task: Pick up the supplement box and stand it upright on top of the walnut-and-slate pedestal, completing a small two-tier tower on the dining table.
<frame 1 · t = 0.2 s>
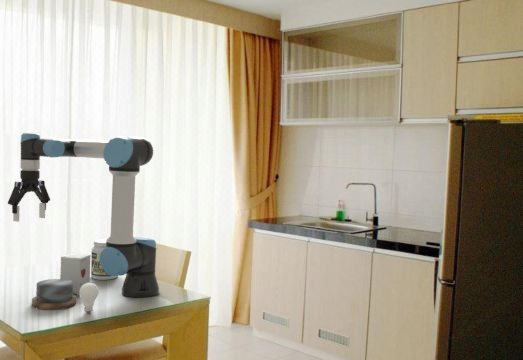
hand: (29, 219, 244), 28 cm above the table, tool pointing down, fingers open, 13 cm apart
supplement tub: (104, 277, 262), on the table
light bulb: (88, 313, 210), on the table
supplement box: (75, 291, 237), on the table
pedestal: (54, 303, 219), on the table
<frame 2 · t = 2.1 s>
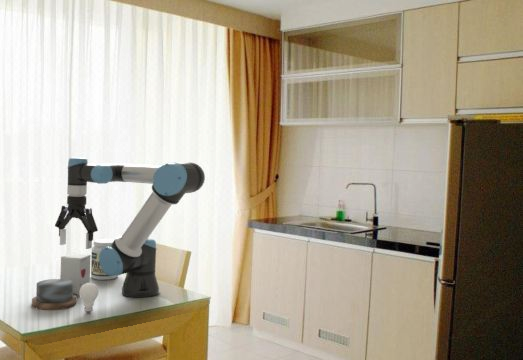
hand: (75, 246, 236), 19 cm above the table, tool pointing down, fingers open, 13 cm apart
nothing on the table moved.
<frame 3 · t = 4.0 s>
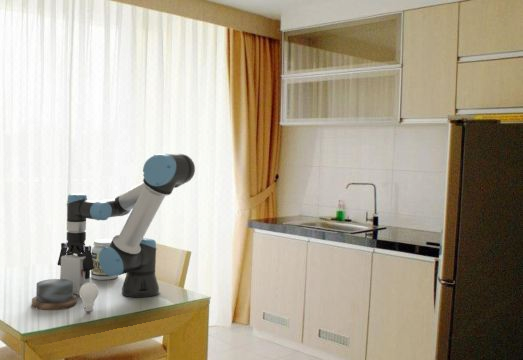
hand: (75, 284, 237), 3 cm above the table, tool pointing down, fingers closed on supplement box, 10 cm apart
supplement box: (75, 291, 237), on the table, touching gripper
everything else where it was.
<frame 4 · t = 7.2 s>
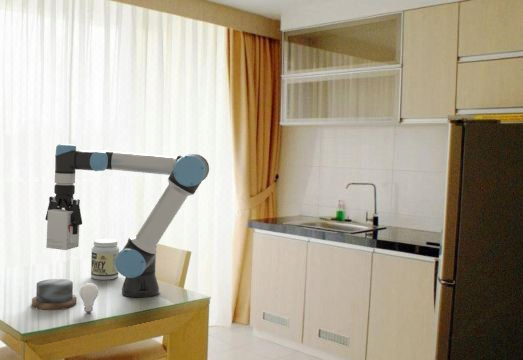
hand: (62, 240, 225), 23 cm above the table, tool pointing down, fingers closed on supplement box, 10 cm apart
supplement box: (62, 248, 225), point 20 cm above the table, touching gripper
everything else where it was.
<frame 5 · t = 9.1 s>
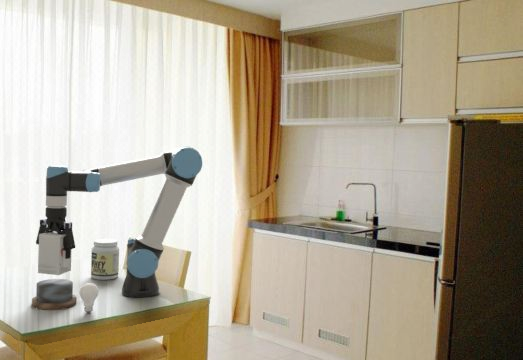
hand: (54, 265, 218), 15 cm above the table, tool pointing down, fingers closed on supplement box, 10 cm apart
supplement box: (54, 272, 218), point 12 cm above the table, touching gripper
everything else where it was.
when the fingers open (12 cm above the table, at t = 10.6 s): supplement box drops 1 cm, resting on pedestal.
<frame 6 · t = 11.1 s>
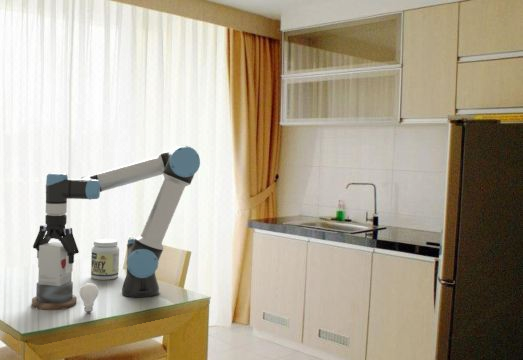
hand: (55, 269, 218), 13 cm above the table, tool pointing down, fingers open, 13 cm apart
supplement box: (55, 283, 218), point 8 cm above the table, touching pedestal
everything else where it was.
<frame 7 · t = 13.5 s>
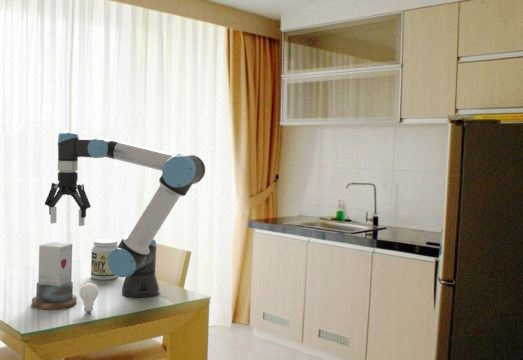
hand: (67, 224, 230), 29 cm above the table, tool pointing down, fingers open, 13 cm apart
nothing on the table moved.
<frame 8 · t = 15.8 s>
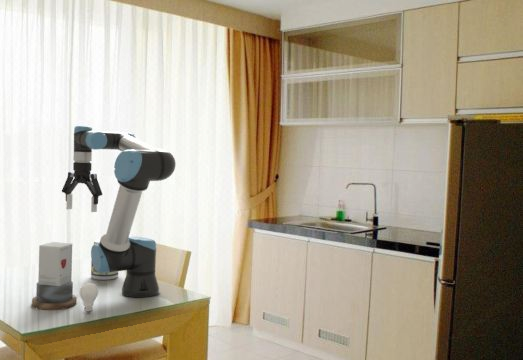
hand: (81, 210, 249), 32 cm above the table, tool pointing down, fingers open, 13 cm apart
nothing on the table moved.
at the end: supplement box inside the target area on the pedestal (0.1 cm from its centre), point 7.8 cm above the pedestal's base; supplement box tilted 0°; the gripper is holding nothing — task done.
